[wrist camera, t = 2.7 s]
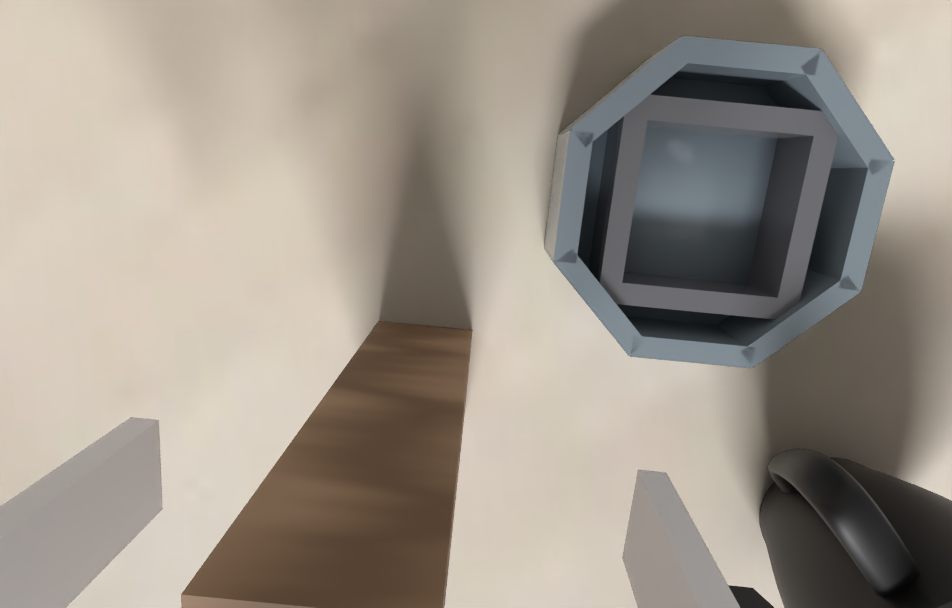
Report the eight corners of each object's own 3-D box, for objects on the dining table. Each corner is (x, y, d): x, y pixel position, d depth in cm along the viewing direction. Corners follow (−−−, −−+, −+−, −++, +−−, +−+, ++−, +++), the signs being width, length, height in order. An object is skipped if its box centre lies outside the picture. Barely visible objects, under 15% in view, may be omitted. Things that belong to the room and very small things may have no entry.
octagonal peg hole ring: (535, 322, 24) (542, 348, 21) (568, 47, 22) (583, 25, 18) (790, 347, 24) (839, 376, 21) (853, 75, 22) (920, 58, 18)
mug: (811, 326, 24) (1015, 426, 15) (947, 528, 26) (1200, 728, 17) (647, 434, 25) (738, 589, 16) (788, 619, 27) (941, 851, 18)
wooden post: (373, 408, 25) (187, 795, 10) (378, 321, 24) (180, 594, 9) (463, 417, 25) (422, 818, 10) (472, 330, 24) (441, 619, 9)
